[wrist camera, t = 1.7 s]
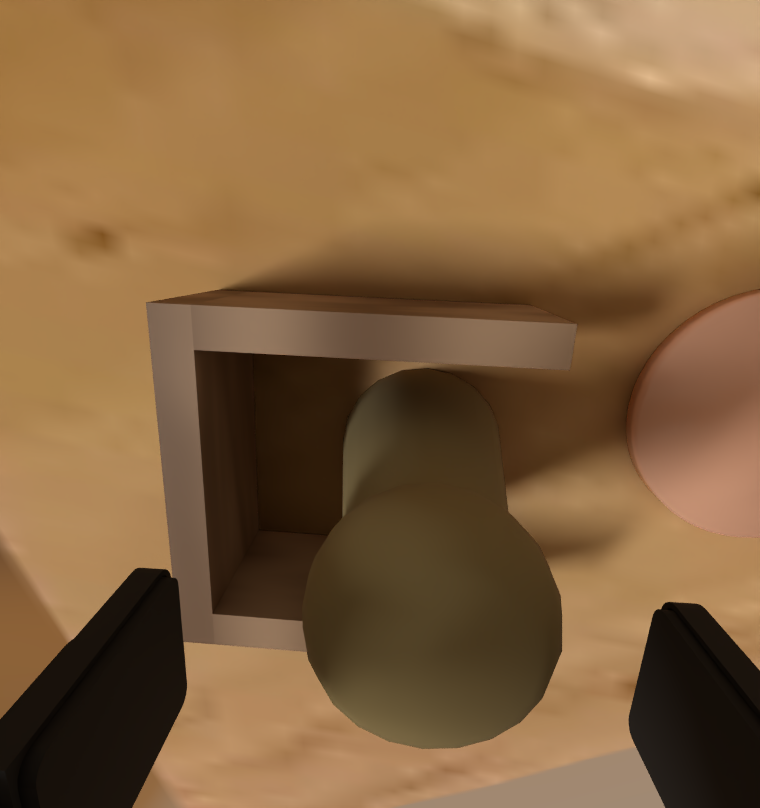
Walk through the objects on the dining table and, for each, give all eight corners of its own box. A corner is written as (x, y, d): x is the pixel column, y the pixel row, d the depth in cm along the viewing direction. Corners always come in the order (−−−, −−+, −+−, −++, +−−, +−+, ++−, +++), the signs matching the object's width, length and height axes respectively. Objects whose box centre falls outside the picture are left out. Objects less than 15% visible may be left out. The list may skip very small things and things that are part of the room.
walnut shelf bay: (530, 305, 17) (577, 324, 12) (495, 572, 20) (521, 669, 16) (218, 290, 18) (146, 302, 13) (232, 553, 21) (178, 641, 16)
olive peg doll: (513, 496, 19) (635, 784, 9) (366, 526, 20) (318, 823, 10) (482, 350, 18) (586, 489, 7) (324, 389, 18) (210, 565, 8)
